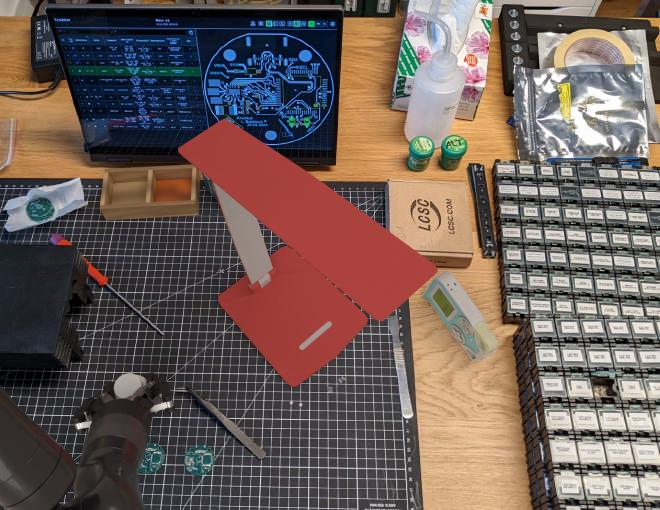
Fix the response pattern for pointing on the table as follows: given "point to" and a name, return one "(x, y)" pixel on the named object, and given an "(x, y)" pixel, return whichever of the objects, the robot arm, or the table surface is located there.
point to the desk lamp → (300, 254)
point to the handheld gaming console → (461, 316)
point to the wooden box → (150, 192)
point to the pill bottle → (128, 385)
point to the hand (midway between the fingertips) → (132, 382)
